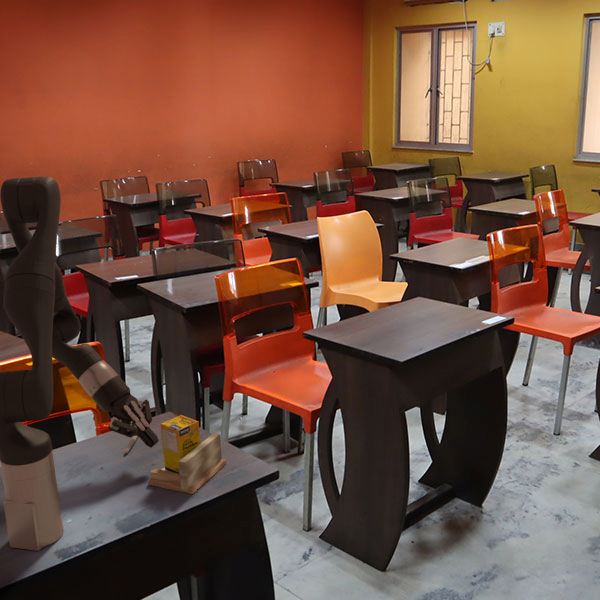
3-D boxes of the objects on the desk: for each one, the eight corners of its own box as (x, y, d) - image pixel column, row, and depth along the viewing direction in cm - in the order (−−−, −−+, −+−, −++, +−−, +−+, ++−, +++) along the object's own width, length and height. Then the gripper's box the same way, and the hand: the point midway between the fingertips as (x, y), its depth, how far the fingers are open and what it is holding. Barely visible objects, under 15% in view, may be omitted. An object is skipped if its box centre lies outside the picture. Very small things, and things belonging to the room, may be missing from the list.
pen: (144, 430, 188) (143, 424, 188) (128, 456, 175) (127, 451, 174) (140, 430, 188) (139, 424, 188) (123, 456, 175) (123, 451, 175)
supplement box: (203, 466, 166) (199, 420, 163) (182, 477, 162) (177, 430, 159) (185, 458, 170) (181, 414, 167) (164, 469, 166) (159, 423, 163)
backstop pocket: (192, 494, 157) (189, 463, 155) (148, 484, 162) (145, 454, 160) (226, 463, 169) (224, 434, 167) (184, 455, 174) (182, 427, 172)
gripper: (92, 387, 161) (145, 449, 160) (130, 365, 173) (180, 422, 171) (76, 406, 165) (128, 467, 164) (114, 384, 177) (163, 440, 175)
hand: (154, 444), depth 168 cm, fingers closed
